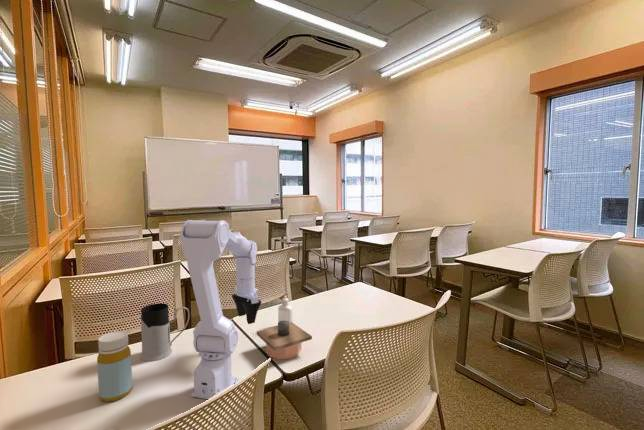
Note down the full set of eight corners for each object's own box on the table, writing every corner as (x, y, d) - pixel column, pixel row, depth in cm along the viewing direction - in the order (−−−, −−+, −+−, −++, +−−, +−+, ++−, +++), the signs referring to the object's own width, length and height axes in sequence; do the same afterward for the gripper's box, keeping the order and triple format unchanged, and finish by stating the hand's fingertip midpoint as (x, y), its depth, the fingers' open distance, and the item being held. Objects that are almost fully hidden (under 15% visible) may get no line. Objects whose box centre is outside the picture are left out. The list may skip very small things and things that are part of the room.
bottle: (137, 385, 83) (135, 329, 82) (122, 402, 76) (119, 342, 75) (110, 385, 83) (108, 330, 82) (92, 403, 76) (89, 343, 75)
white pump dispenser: (282, 330, 116) (282, 298, 115) (277, 325, 121) (277, 294, 120) (293, 328, 118) (293, 296, 117) (288, 323, 123) (287, 292, 122)
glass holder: (141, 351, 101) (139, 305, 100) (189, 341, 108) (187, 298, 107) (140, 364, 94) (138, 314, 92) (191, 352, 100) (190, 306, 99)
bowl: (294, 360, 95) (293, 346, 95) (262, 356, 98) (261, 342, 97) (304, 344, 105) (304, 331, 105) (275, 341, 108) (275, 328, 107)
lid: (274, 350, 92) (274, 335, 92) (256, 334, 103) (256, 320, 103) (311, 339, 99) (311, 324, 99) (291, 325, 110) (291, 312, 110)
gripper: (267, 280, 97) (267, 323, 98) (248, 271, 109) (249, 309, 110) (245, 284, 93) (246, 329, 94) (228, 274, 105) (229, 314, 106)
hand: (246, 319), depth 102 cm, fingers open, 7 cm apart
